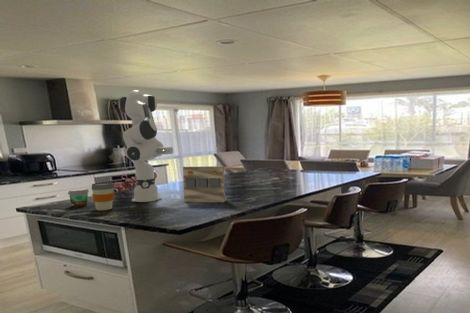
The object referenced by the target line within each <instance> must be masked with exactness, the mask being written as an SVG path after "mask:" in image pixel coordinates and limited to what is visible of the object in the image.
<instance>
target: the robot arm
mask: <svg viewBox="0 0 470 313" xmlns="http://www.w3.org/2000/svg"><path fill="white" fill-rule="evenodd" d="M157 106H158V102H157V99H156V97H155V96H154V95H153V94H144V93H143V92H142V91H140V90H137V89H134V90H131V91H130V92H129V93H128V95H124V96H120V98H119V101H118V108H119V110H120V112H121V113H122V114H126V116H127V117H128V118H130V119H131V124H132V127H129V128H128V129H126V130H124V131H123V132H122V135H121V141H122V144H123V147H122V148H123V150H122V152H123V155H124V157H126V158H127V159H129V160H130V162H132V163H133V165H134V168H135V174H136V179H135V185H136V186H135V187H134V189H133V197H132V199H131V202H137V203H149V202H155V201H158V200H159V201H160V200H161V199H162V198H161V196H159V192H158V186H156V178H155V175H154V174H155V173H154V166H153V165H152V164H151V163H148V162H146V161H150V160H154V159H156V158H158V157H162V155H171V154H173V153H174V148H173V146H164V144H163V143H162V142H161V141H160V140H158V139H157V138H156V136H157V133H158V128H157V126H156V123H155V120H154V116H153V112H155V110H156V109H157Z"/></svg>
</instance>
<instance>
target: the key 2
mask: <svg viewBox="0 0 470 313" xmlns="http://www.w3.org/2000/svg"><path fill="white" fill-rule="evenodd" d="M210 187H221V185H220V178H211V179H210Z"/></svg>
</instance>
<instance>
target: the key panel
mask: <svg viewBox="0 0 470 313" xmlns="http://www.w3.org/2000/svg"><path fill="white" fill-rule="evenodd" d="M182 175H183V176H182V177H183V181H182V182H183V197H184V199H183V200H184V202H186V203H191V202H193V203H225V202H226V201H227V196H226V189H225V187H226V186H225V184H226V183H225V166H224V165H214V166H213V165H210V166H209V165H208V166H207V165H205V166H204V165H203V166H202V165H201V166H195V165H194V166H182ZM187 178H196V187H186V179H187ZM199 178H208V187H197V179H199ZM211 178H220V185H221V187H210V179H211Z"/></svg>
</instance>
